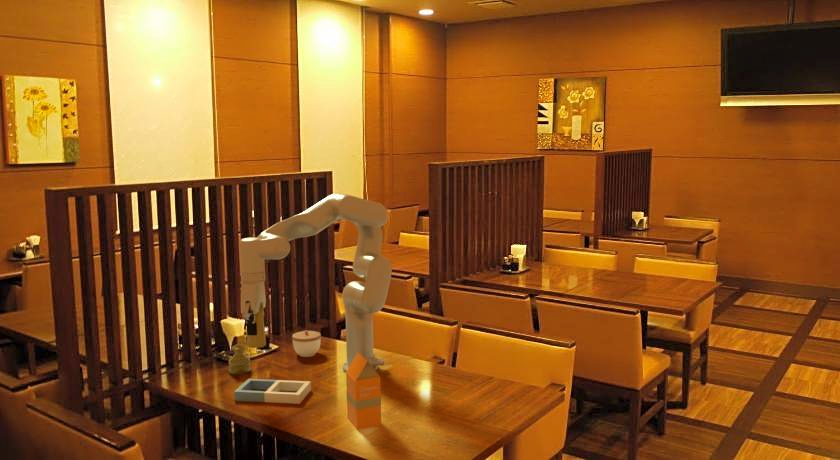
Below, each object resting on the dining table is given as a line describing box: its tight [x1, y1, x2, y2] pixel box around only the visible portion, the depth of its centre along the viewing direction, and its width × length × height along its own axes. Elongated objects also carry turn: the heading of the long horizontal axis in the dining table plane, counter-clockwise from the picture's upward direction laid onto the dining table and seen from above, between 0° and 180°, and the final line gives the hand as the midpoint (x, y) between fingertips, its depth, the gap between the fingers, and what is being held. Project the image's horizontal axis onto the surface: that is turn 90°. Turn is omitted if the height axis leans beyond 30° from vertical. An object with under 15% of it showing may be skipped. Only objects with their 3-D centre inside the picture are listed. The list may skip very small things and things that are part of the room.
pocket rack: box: [233, 378, 312, 405], centre depth 227 cm, size 22×12×3 cm, turn 81°
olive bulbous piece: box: [228, 343, 251, 376], centre depth 249 cm, size 7×7×10 cm
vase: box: [246, 302, 267, 349], centre depth 225 cm, size 6×6×14 cm
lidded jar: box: [291, 329, 322, 358], centre depth 267 cm, size 11×11×9 cm
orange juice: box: [345, 352, 382, 430], centre depth 205 cm, size 8×9×20 cm
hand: (255, 331), depth 225 cm, fingers closed on vase, 5 cm apart
